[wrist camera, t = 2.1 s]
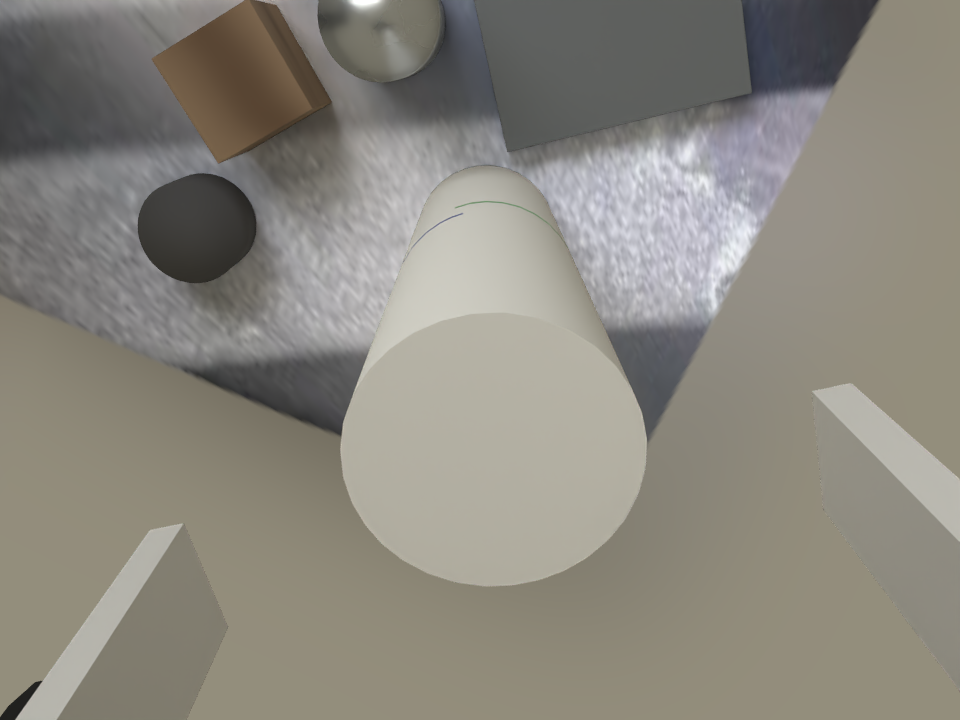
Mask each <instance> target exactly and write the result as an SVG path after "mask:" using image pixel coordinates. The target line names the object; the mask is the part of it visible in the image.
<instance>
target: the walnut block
mask: <svg viewBox="0 0 960 720" xmlns="http://www.w3.org/2000/svg"><path fill="white" fill-rule="evenodd" d="M152 61H153V62H154V64H155V65H156V67H157V68H158V70H159V72H160V73H161V75H162V76H163V78H164V79H165V81H166V82H167V84H168V86H169V87H170V89H171V90H172V92H173V93H174V95H175V97H176V98H177V100H178V101H179V103H180V104H181V106H182V107H183V109H184V111H185V112H186V114H187V115H188V117H189V118H190V120H191V122H192V123H193V125H194V126H195V128H196V129H197V131H198V132H199V134H200V136H201V137H202V139H203V140H204V142H205V143H206V145H207V147H208V148H209V150H210V151H211V153H212V154H213V156H214V157H215V159H216V161H217V162H218V164H219V163H221V162H223V161H226V160H228V159H231V158H233V157H235V156H238V155H240V154H243V153H245V152H248V151H249V150H251V149H253V148H255V147H256V146H258V145H260V144H261V143H263V142H265V141H267V140H268V139H270V138H272V137H273V136H275V135H277V134H279V133H280V132H282V131H284V130H285V129H287V128H289V127H290V126H292V125H294V124H296V123H297V122H299V121H301V120H302V119H304V118H306V117H308V116H309V115H311V114H313V113H314V112H316V111H318V110H320V109H321V108H323V107H325V106H326V105H328V104H330V103H332V101H331V100H330V98H329V96H328V94H327V93H326V91H325V89H324V87H323V86H322V84H321V82H320V80H319V79H318V77H317V75H316V73H315V72H314V70H313V68H312V67H311V65H310V63H309V61H308V60H307V58H306V56H305V54H304V53H303V51H302V49H301V47H300V46H299V44H298V42H297V40H296V39H295V37H294V35H293V33H292V32H291V30H290V28H289V27H288V25H287V23H286V21H285V20H284V18H283V16H282V14H281V13H280V11H279V9H278V7H277V6H276V5H273V4H269V3H265V2H260V1H256V0H245V1H243V2H242V3H240V4H239V5H237V6H235V7H234V8H232V9H231V10H229V11H227V12H226V13H224V14H223V15H221V16H219V17H218V18H216V19H215V20H213V21H211V22H210V23H208V24H207V25H205V26H203V27H202V28H200V29H199V30H197V31H195V32H194V33H192V34H191V35H189V36H187V37H186V38H184V39H182V40H181V41H179V42H178V43H176V44H174V45H173V46H171V47H170V48H168V49H166V50H165V51H163V52H162V53H160V54H158V55H157V56H155V57H154V58H152Z"/></svg>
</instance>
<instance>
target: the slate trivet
mask: <svg viewBox="0 0 960 720" xmlns="http://www.w3.org/2000/svg"><path fill="white" fill-rule="evenodd" d="M474 2H475V7H476V11H477V16H478V20H479V25H480V30H481V34H482V39H483V43H484V48H485V52H486V57H487V61H488V66H489V71H490V75H491V80H492V84H493V89H494V93H495V98H496V102H497V107H498V112H499V116H500V121H501V125H502V130H503V134H504V139H505V143H506V148H507V152H510V151H514V150H519V149H523V148H527V147H531V146H535V145H539V144H543V143H547V142H552V141H556V140H560V139H564V138H568V137H572V136H576V135H580V134H584V133H589V132H593V131H597V130H601V129H605V128H609V127H613V126H617V125H621V124H626V123H630V122H634V121H638V120H642V119H646V118H650V117H654V116H658V115H663V114H667V113H671V112H675V111H679V110H683V109H687V108H691V107H695V106H700V105H704V104H708V103H712V102H716V101H720V100H724V99H728V98H732V97H737V96H741V95H745V94H749V93H752V90H751V81H750V72H749V63H748V54H747V45H746V36H745V27H744V18H743V9H742V0H474Z"/></svg>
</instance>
